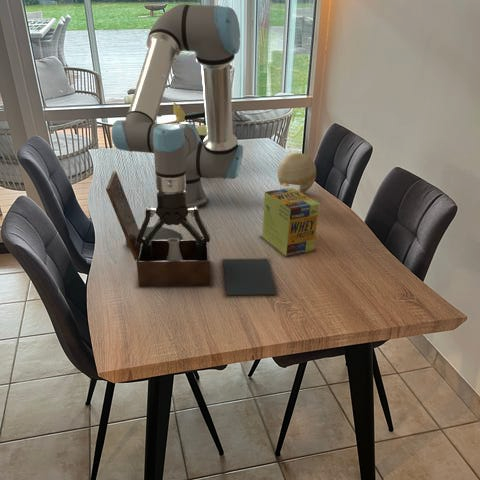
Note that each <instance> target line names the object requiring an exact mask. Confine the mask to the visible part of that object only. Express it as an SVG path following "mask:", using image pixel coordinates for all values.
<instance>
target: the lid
mask: <svg viewBox="0 0 480 480" xmlns="http://www.w3.org/2000/svg"><path fill="white" fill-rule="evenodd" d="M105 191H106V194H107V196H108V198H109V201H110V203H111V206H112V209H113V211H114V214H115V215H116V218H117V220H118V223H119V226H120V228H121V230H122V232H123V235H124V237H125V241H126V240H127V242H128V245H129V247H130V249H129V250H130V253H131V254H132V257H133V260H134V261H136V262H137V260H138V256H139V251H140V246H141V243H138V242H137V236H138V234H139V226H138V223H137V221H136V218H135V217H134V214H133V211H132V208H131V206H130V204H129V201H128V198H127V196H126V193H125V190H124V188H123V185H122V183H121V180H120V177H119V175H118V173H117V170H113V171H112V173H111V176H110V178H109V181H108V183H107V186H106V188H105Z"/></svg>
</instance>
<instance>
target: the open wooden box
mask: <svg viewBox="0 0 480 480" xmlns="http://www.w3.org/2000/svg"><path fill="white" fill-rule="evenodd" d="M151 241H152V254H153V261H149V255H145V252H144V244H143V243H141V246H140V251H139V256H138V260H136V271H137V281H138V287H139V288H144V287H146V288H148V287H151V288H152V287H209V286H211V262H210V261H211V260H210V259H211V258H210V242H205V243H204V244H203V251H204V253H203V254H199V260H197V250H196V239H182V240H180V242H179V250H180V254H181V256H182V258H183V261H166V259H167V256H168V252H169V243H168V240H151Z"/></svg>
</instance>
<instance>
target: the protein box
mask: <svg viewBox="0 0 480 480" xmlns="http://www.w3.org/2000/svg"><path fill="white" fill-rule="evenodd" d="M280 189H281V188H280ZM280 189H275V190H267V191H264V199H263V215H262V219H263V220H262V231H261V237H262V239H265V241H267V242H268V243H269V244H270V245H271V246H273V247H274V248H275V249H276V250H278V252H280V253H281V254H282V255H284V256H285V257H290V256H294V255H298V254H304V253H308V252H312V251H314V250H315V245H316V244H315V241H316V235H317V227H318V218H319V211H320V202H318V201H316V200H315V199H312V198H311V197H309V196H308V195H306V194H305V193H304V192H299V191H298V190H296V189H294V188H288V189H281V190H280Z"/></svg>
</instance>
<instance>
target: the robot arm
mask: <svg viewBox="0 0 480 480" xmlns="http://www.w3.org/2000/svg"><path fill="white" fill-rule="evenodd" d="M240 47H241V28H240V22H239V18H238V15H237V13H236V11H235V10H234V9H233V8H232V7H231V6H221V5H218V4H217V5H207V4H205V5H204V4H184V3H181V4H177V5H175V6H172V7H170V8H168V9H167V10H166V11H164V13H162V14H161V15H160V16H159V17H158V19H157V20H156V21H155V22H154V24H153V25H152V27H151V28H150V30H149V33H148V36H147V39H146V48H147V51H146V55H145V58H144V61H143V64H142V67H141V70H140V73H139V77H138V80H137V82H136V86H135V89H134V92H133V96H132V99H131V102H130V105H129V109H128V111H127V114H126V117H125V119H117V120H115V122H114V123H113V124H112V127H111V141H112V144H114V147H115V148H116V149H118V150H121V151H125V152H126V151H127V152H131V153H132V152H135V153H147V154H153V159H154V173H155V188H156V204H157V206H156V207H155V208H153V207H151V206H146V207H145V217H144V219H143V221H142V224H141V226H140V231H139V234H138V236H137V242H138V243H143V244H144V252H145V255H149V261H153V254H152V241H151V239H152V238H153V237H154V235H155V234H156V233H157V232H158V230H159V229H160V228H161V227H163V226H164V225H166V226H173V225H174V226H179V225H181V226H182V227H183V228H185V230H187V232H188V233H189V234H190V235H191V236H192V237H193V239H194V240H196V250H197V260H199V254H203V253H204V251H203V244H204V243H205V242H209V243H210V242H211V236H210V234H209V231H208V230H207V228H206V225H205V223H204V221H203V220H202V217H201V216H200V212H199V208H200V207H202V206H204V205H205V204H206V203H207V196H206V193H205V190H204V186H203V182H202V177H207V178H217V179H224V180H226V179H229V180H234V179H236V178H237V177H238V176H239V173H240V169H241V168H242V167H241V166H242V161H243V155H244V146H243V145H242V144H238V143H239V142H238V141H239V140H238V137H237V136H236V135H235V134H234V132H233V131H234V130H233V129H234V128H233V127H234V126H233V106H232V83H231V81H232V80H231V64H232V62H233V61H234V60H235V57H236V56H235V55H236V54H238V53H239V51H240V49H241V48H240ZM181 52H194V53H195V60H196V62H197V63H198V64H199V65H200V66H201V77H202V86H203V87H202V89H204V90H203V102H204V101H205V113H206V125H207V136H206V137H205V139H204V142H201V139H200V137H199V133H198V131H197V129H196V127H197V126H196V125H194V124H193V123H191V122H187V121H181V122H179V123H178V122H177V124H170V123H168V124H167V123H156V120H157V116H158V113H159V111H160V107H161V103H162V100H163V97H164V93H165V90H166V87H167V84H168V80H169V77H170V75H171V71H172V68H173V64H174V62H175V61H176V60H177V59H178V58H179V56H180V53H181ZM155 214H156V215H157V217H159V218H158V219H157V221H156V223H155V224H154V225H153V226H152V227H153V228H152V229H151V230H150V232H149V233H148V234H147V235H146V237H143V235H144V233H145V231H146V228H147V227H149V224H150V221H151V218H153V217H154V215H155ZM188 215H190V216H191V217H192V218H194V221H195V223H196V225H197V227H198V229H199V231H200V232H199V231H198V230H197V229H196V228H195V227H194V226H193V225H192V223H191V222H190V221H189V219H188V218H187V216H188ZM200 233H201V234H200Z"/></svg>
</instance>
